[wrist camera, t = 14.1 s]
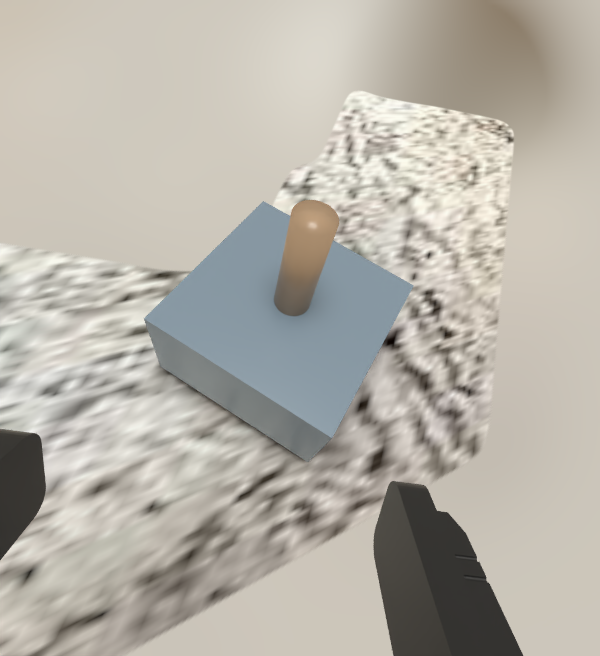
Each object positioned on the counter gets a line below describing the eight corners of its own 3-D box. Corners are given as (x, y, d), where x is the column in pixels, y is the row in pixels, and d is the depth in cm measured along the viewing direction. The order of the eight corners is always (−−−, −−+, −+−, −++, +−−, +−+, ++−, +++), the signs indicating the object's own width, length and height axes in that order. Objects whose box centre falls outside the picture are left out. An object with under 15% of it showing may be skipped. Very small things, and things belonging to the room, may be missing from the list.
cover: (160, 366, 31) (113, 229, 18) (256, 260, 38) (274, 105, 25) (307, 462, 29) (379, 391, 16) (379, 332, 36) (470, 207, 23)
